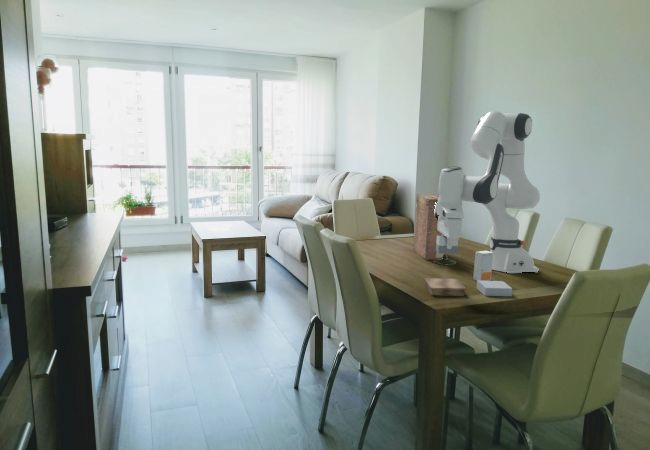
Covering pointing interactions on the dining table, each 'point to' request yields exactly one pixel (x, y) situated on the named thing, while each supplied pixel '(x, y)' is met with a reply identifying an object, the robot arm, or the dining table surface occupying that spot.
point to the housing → (442, 248)
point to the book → (426, 228)
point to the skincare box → (483, 265)
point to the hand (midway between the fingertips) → (446, 246)
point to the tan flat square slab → (444, 287)
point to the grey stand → (494, 288)
